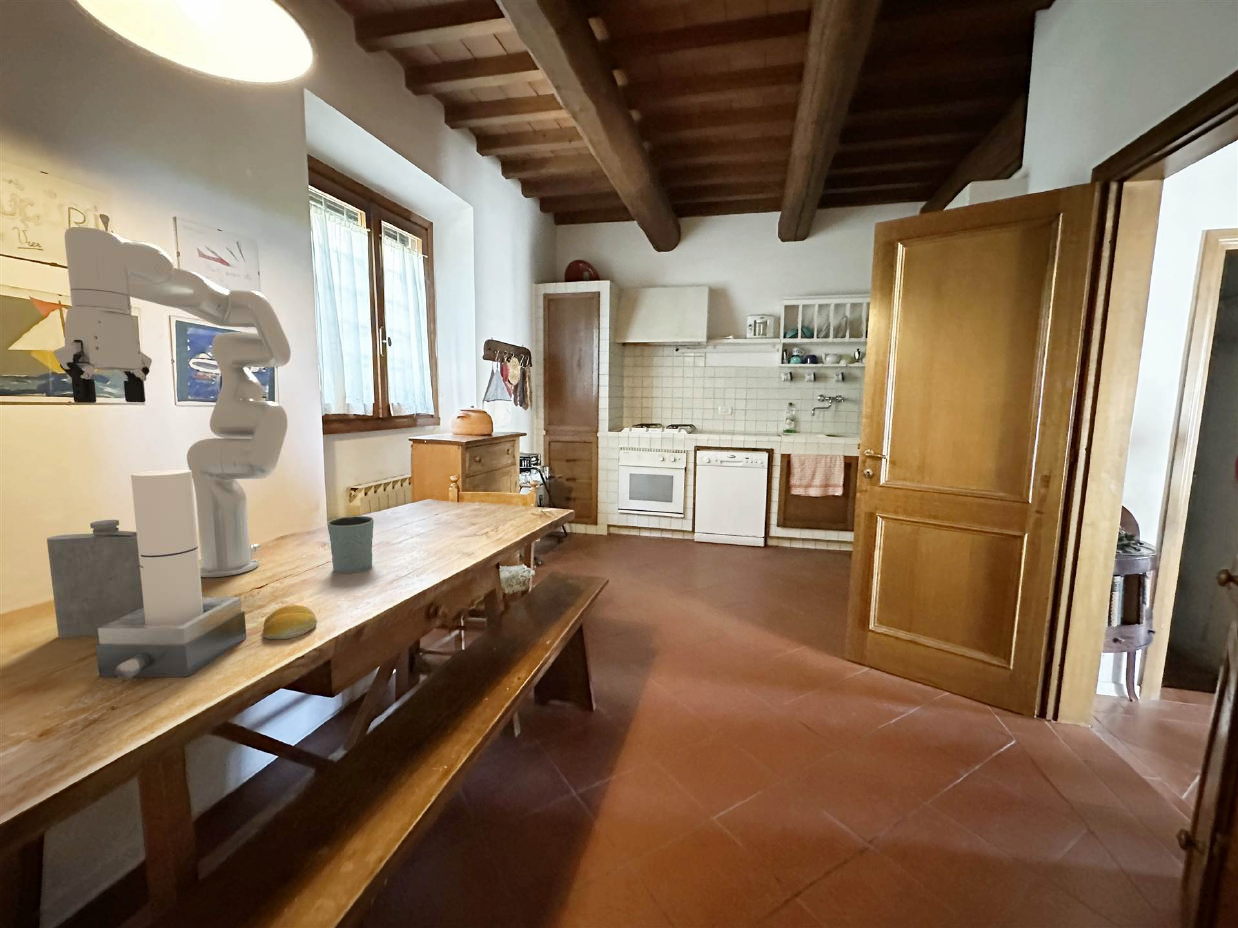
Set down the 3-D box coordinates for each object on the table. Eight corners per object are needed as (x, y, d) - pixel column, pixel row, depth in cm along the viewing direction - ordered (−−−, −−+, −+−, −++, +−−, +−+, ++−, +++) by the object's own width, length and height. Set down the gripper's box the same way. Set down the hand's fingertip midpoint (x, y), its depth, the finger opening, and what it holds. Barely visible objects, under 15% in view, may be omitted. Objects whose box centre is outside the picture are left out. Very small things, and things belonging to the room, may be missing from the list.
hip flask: (53, 639, 91) (39, 525, 88) (73, 628, 95) (60, 519, 92) (157, 634, 93) (147, 523, 91) (172, 624, 97) (163, 517, 95)
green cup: (368, 559, 138) (366, 514, 136) (381, 568, 130) (379, 521, 129) (324, 567, 131) (322, 519, 129) (336, 577, 123) (333, 527, 122)
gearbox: (169, 637, 92) (166, 596, 91) (246, 638, 92) (243, 596, 91) (79, 687, 76) (73, 638, 75) (172, 687, 76) (167, 638, 75)
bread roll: (263, 645, 90) (261, 623, 90) (264, 626, 98) (263, 605, 97) (318, 634, 94) (317, 613, 94) (316, 616, 102) (314, 596, 101)
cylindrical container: (171, 638, 81) (156, 476, 78) (134, 633, 82) (118, 474, 79) (215, 619, 88) (203, 470, 85) (180, 615, 89) (167, 468, 86)
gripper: (124, 312, 101) (132, 401, 103) (26, 294, 84) (39, 402, 86) (164, 312, 101) (172, 402, 104) (75, 295, 84) (86, 403, 86)
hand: (111, 402), depth 95 cm, fingers open, 9 cm apart
